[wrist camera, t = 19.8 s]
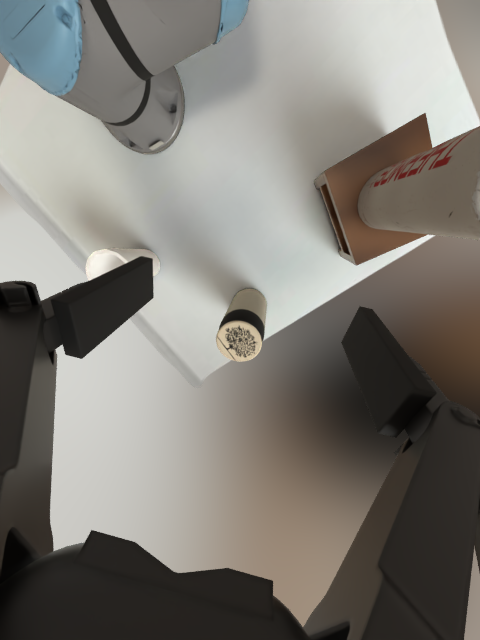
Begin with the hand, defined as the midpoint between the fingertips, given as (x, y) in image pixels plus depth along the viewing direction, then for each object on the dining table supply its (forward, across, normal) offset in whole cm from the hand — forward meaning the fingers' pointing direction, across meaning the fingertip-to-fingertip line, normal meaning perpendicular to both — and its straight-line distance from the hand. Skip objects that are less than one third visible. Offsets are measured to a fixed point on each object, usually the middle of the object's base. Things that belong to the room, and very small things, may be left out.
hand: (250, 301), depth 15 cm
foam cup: (+35, -26, -14) cm, 46 cm away
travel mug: (+35, 0, -18) cm, 39 cm away
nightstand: (+37, +16, +7) cm, 41 cm away
